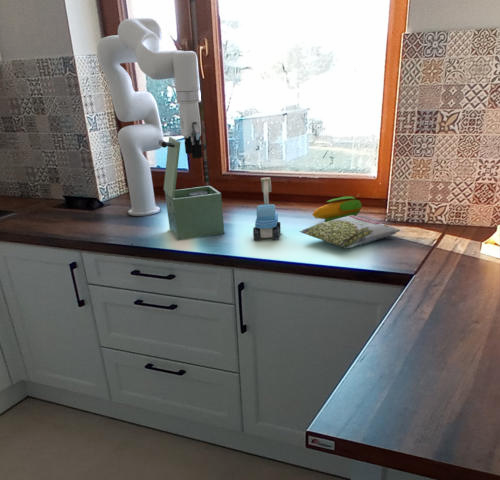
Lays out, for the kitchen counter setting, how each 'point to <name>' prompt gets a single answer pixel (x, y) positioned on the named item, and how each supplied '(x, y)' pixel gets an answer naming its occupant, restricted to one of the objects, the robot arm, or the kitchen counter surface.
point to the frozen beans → (350, 231)
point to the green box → (195, 213)
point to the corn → (338, 209)
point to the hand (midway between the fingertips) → (193, 155)
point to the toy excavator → (266, 216)
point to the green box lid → (171, 165)
